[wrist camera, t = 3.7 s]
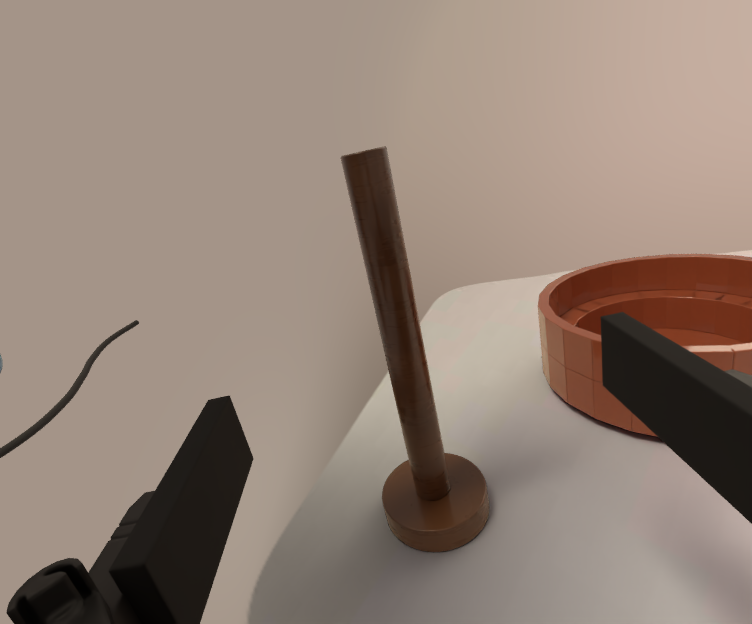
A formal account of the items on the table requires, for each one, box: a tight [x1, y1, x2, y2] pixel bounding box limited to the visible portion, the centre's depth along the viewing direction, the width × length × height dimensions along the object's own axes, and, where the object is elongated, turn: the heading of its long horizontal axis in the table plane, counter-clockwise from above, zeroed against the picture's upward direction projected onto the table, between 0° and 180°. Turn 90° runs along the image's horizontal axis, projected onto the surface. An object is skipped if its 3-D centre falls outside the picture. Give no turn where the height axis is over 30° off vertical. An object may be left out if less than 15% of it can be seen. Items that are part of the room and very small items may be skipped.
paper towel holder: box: [341, 147, 489, 552], centre depth 22 cm, size 6×6×20 cm
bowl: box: [538, 254, 752, 437], centre depth 31 cm, size 18×18×6 cm
